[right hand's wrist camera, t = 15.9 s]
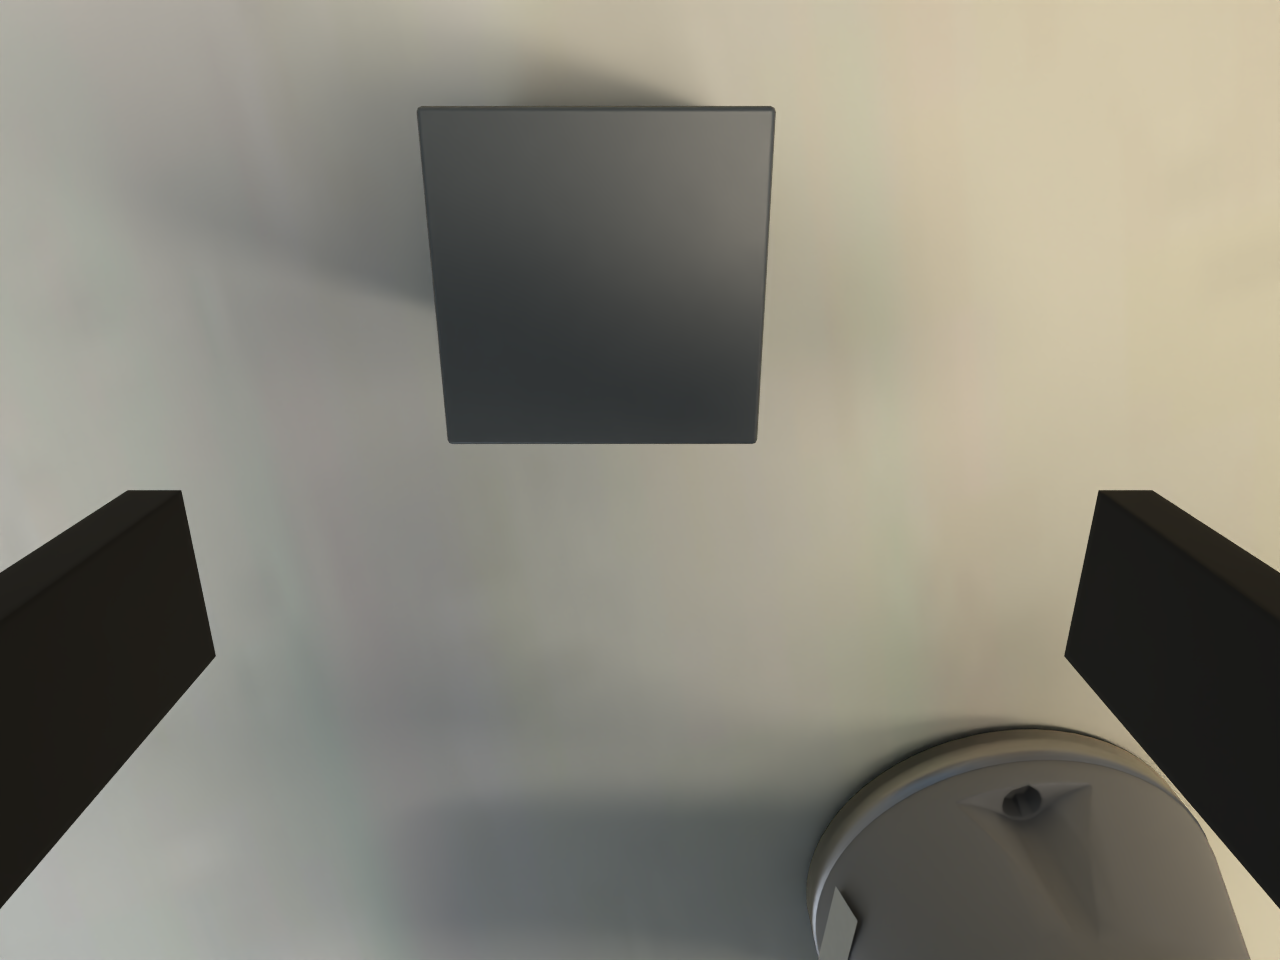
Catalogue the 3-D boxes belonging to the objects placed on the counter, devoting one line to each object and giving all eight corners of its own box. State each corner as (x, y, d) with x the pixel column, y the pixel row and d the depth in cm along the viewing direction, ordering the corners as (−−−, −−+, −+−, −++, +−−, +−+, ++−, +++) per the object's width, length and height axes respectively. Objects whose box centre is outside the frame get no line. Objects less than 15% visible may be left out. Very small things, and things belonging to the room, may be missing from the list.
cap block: (714, 329, 26) (757, 444, 16) (516, 329, 26) (447, 445, 16) (721, 113, 23) (776, 106, 14) (504, 113, 23) (415, 106, 14)
